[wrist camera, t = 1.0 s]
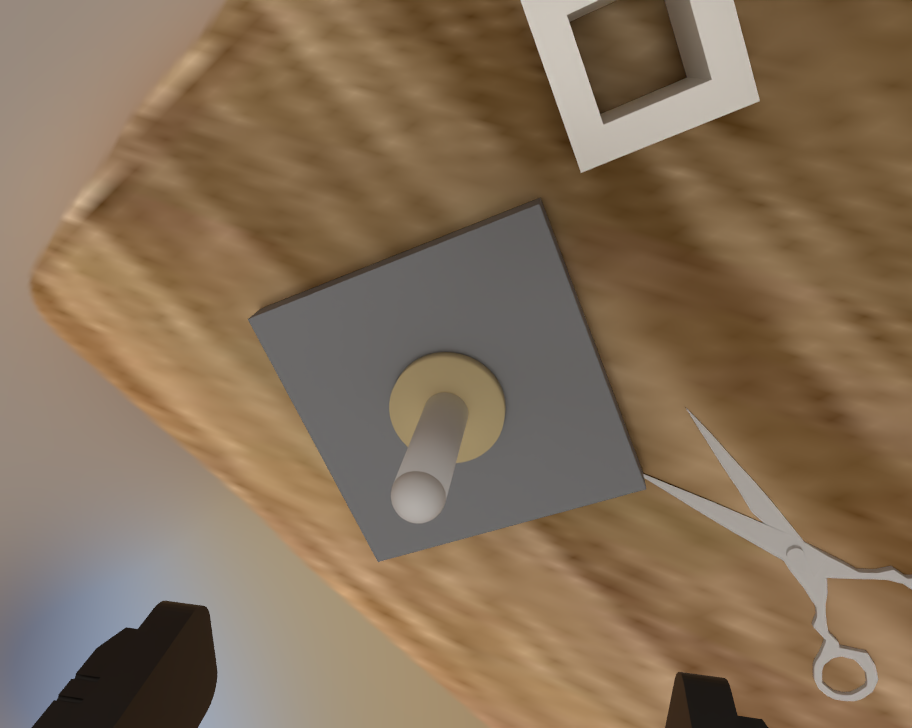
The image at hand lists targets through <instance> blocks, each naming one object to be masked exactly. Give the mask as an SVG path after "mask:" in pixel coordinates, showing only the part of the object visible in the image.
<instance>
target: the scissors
mask: <svg viewBox="0 0 912 728" xmlns="http://www.w3.org/2000/svg"><path fill="white" fill-rule="evenodd" d="M685 408H686V407H685ZM686 409H687V408H686ZM687 411H688V412H689V414H690V415H691V417H692V419H693V420H694V422H695V423H696V425H697V427H698V428H699V430H700V431H701V433H702V435H703V436H704V438H705V439H706V441H707V442H708V444H709V446H710V447H711V449H712V450H713V452H714V454H715V455H716V457H717V458H718V460H719V462H720V463H721V465H722V466H723V468H724V469H725V471H726V472H727V474H728V475H729V477H730V478H731V480H732V481H733V483H734V484H735V485H736V487H737V488H738V490H739V492H740V493H741V495H742V497H743V498H744V500H745V502H746V503H747V505H748V507H749V508H750V510H751V512H752V513H753V514H754V515H755V516H756V517H758V518H759V519H760V520H761V521H762V522H763V523H761V522H758V521H756V520H754V519H751V518H749V517H747V516H744V515H742V514H740V513H737V512H735V511H732V510H730V509H728V508H725V507H723V506H721V505H718V504H716V503H714V502H711V501H709V500H706V499H704V498H701V497H699V496H696V495H694V494H692V493H689V492H687V491H684V490H682V489H679V488H677V487H674V486H672V485H669V484H667V483H664V482H662V481H660V480H657V479H655V478H652V477H650V476H647V475H645V474H643V475H644V478H645V479H647V480H649V481H650V482H652V483H653V484H655V485H657V486H658V487H660V488H662V489H663V490H665V491H666V492H668V493H670V494H671V495H673V496H675V497H676V498H678V499H679V500H681V501H683V502H684V503H686V504H688V505H689V506H691V507H692V508H694V509H696V510H697V511H699V512H701V513H702V514H704V515H706V516H707V517H709V518H710V519H712V520H714V521H715V522H717V523H719V524H720V525H722V526H724V527H725V528H727V529H729V530H731V531H732V532H734V533H736V534H738V535H739V536H741V537H743V538H745V539H746V540H748V541H750V542H752V543H753V544H755V545H757V546H759V547H760V548H762V549H764V550H766V551H767V552H769V553H771V554H773V555H774V556H776V557H778V558H780V559H782V560H783V561H784V562H785V563H786V565H787V567H788V568H789V570H790V571H791V572H792V574H793V575H794V576H795V577H796V579H797V580H798V581H799V582H800V584H801V585H802V586H803V587H804V589H805V590H806V592H807V594H808V595H809V597H810V599H811V600H812V602H813V603H814V604H815V611H816V613H815V616H814V618H813V621H812V625H813V627H814V628H815V629H816V630H817V631H818V632H819V633H820V634H821V636H822V637H823V638H824V640H823V643H822V645H821V648H820V650H819V652H818V654H817V655H816V657H815V658H814V661H813V678H814V680H815V682H816V684H817V686H818V688H819V689H820V690H821V691H822V692H823V693H825V694H826V695H827V696H829V697H831V698H833V699H836V700H843V701H857V700H860V699H863V698H865V697H866V696H867V695H869V694H870V693H871V692H872V691H873V690H874V688H875V686H876V683H877V681H878V675H877V671H876V667H875V664H874V662H873V661H872V659H871V658H870V656H869V654H868V653H867V651H866V650H862V649H857V648H853V647H848V646H843V645H839V643H838V641H837V639H836V638H835V637H834V636H833V635H832V634H831V633H830V632H829V631H828V628H827V623H826V608H825V604H826V598H827V579H826V578H845V579H880V580H890V581H894V582H898V583H902V584H904V585H906V586H907V587H909V588H910V589H912V575H904V574H902V573H901V572H899V571H898V570H896V569H895V568H893V567H892V566H887V567H883V568H878V569H858V568H855V567H853V566H851V565H849V564H848V563H846V562H844V561H842V560H840V559H838V558H836V557H834V556H832V555H830V554H828V553H826V552H824V551H822V550H820V549H818V548H816V547H814V546H812V545H810V544H808V543H807V542H805V541H803V540H802V538H801V537H800V536H799V535H798V533H797V532H796V531H795V530H794V528H793V527H792V526H791V525H790V523H789V522H788V521H787V520H786V518H785V517H784V516H783V515H782V514H781V512H780V511H779V510H778V509H777V507H776V506H775V505H774V504H773V502H772V501H771V500H770V499H769V497H768V496H767V495H766V494H765V493H764V492H763V491H762V489H761V488H760V487H759V486H758V485H757V484H756V483H755V481H754V480H753V479H752V478H751V477H750V476H749V475H748V474H747V473H746V472H745V471H744V469H743V468H742V467H741V466H740V465H739V464H738V463H737V462H736V461H735V460H734V459H733V458H732V456H731V455H730V454H729V453H728V452H727V451H726V450H725V448H724V447H723V446H722V445H721V444H720V443H719V442H718V441H717V439H716V438H715V437H714V436H713V435H712V434H711V433H710V431H709V430H708V429H707V428H706V427H705V426H704V425H703V424H702V423H701V422H700V421H699V420H698V419H697V418H696V417H695V416H694V415H693V414H692V413H691V412H690V411H689V410H688V409H687ZM764 523H765V524H764ZM841 656H842V657H846V658H850V659H854V660H855V661H856V662H857V663H858V664H859V665H860V666H861V667H862V668H863V669H864V671H865V676H866V681H865V684H863V685H862V686H860V687H859V688H857V689H855V690H853V691H850V692H840V691H836V690H833V689H831V688H830V687H829V686H827V685H826V684H825V683H824V682H823V681H822V669H823V666H824V665H825V664H826V663H827V662H829V661H830V660H831V659H832V658H835V657H841Z"/></svg>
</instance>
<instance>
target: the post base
mask: <svg viewBox="0 0 912 728" xmlns="http://www.w3.org/2000/svg"><path fill="white" fill-rule="evenodd" d="M248 320H249V322H250V324H251V326H252V328H253V330H254V332H255V333H256V335H257V337H258V339H259V341H260V343H261V345H262V347H263V348H264V350H265V352H266V354H267V356H268V358H269V360H270V361H271V363H272V365H273V367H274V369H275V371H276V373H277V374H278V376H279V378H280V380H281V382H282V384H283V386H284V388H285V389H286V391H287V393H288V395H289V397H290V399H291V401H292V402H293V404H294V406H295V408H296V410H297V412H298V414H299V415H300V417H301V419H302V421H303V423H304V425H305V427H306V429H307V430H308V432H309V434H310V436H311V438H312V440H313V442H314V443H315V445H316V447H317V449H318V451H319V453H320V455H321V457H322V458H323V460H324V462H325V464H326V466H327V468H328V470H329V471H330V473H331V475H332V477H333V479H334V481H335V483H336V484H337V486H338V488H339V490H340V492H341V494H342V496H343V498H344V499H345V501H346V503H347V505H348V507H349V509H350V511H351V512H352V514H353V516H354V518H355V520H356V522H357V524H358V525H359V527H360V529H361V531H362V533H363V535H364V537H365V539H366V540H367V542H368V544H369V546H370V548H371V550H372V552H373V553H374V555H375V557H376V559H377V561H378V562H379V561H383V560H387V559H390V558H394V557H398V556H402V555H405V554H409V553H413V552H416V551H420V550H424V549H427V548H431V547H435V546H438V545H442V544H446V543H450V542H453V541H457V540H461V539H464V538H468V537H472V536H475V535H479V534H483V533H486V532H490V531H494V530H497V529H501V528H505V527H509V526H512V525H516V524H520V523H523V522H527V521H531V520H534V519H538V518H542V517H545V516H549V515H553V514H556V513H560V512H564V511H568V510H571V509H575V508H579V507H582V506H586V505H590V504H593V503H597V502H601V501H604V500H608V499H612V498H615V497H619V496H623V495H627V494H630V493H634V492H638V491H641V490H645V489H646V485H645V480H644V475H643V471H642V468H641V466H640V463H639V460H638V458H637V455H636V452H635V450H634V447H633V444H632V442H631V439H630V436H629V434H628V431H627V428H626V426H625V423H624V420H623V418H622V415H621V412H620V410H619V407H618V404H617V402H616V399H615V396H614V394H613V391H612V388H611V385H610V383H609V380H608V377H607V375H606V372H605V369H604V367H603V364H602V361H601V359H600V356H599V353H598V351H597V348H596V345H595V343H594V340H593V337H592V335H591V332H590V329H589V327H588V324H587V321H586V319H585V316H584V313H583V311H582V308H581V305H580V302H579V300H578V297H577V294H576V292H575V289H574V286H573V284H572V281H571V278H570V276H569V273H568V270H567V268H566V265H565V262H564V260H563V257H562V254H561V252H560V249H559V246H558V244H557V241H556V238H555V236H554V233H553V230H552V228H551V225H550V222H549V219H548V217H547V214H546V211H545V209H544V206H543V203H542V201H541V198H538V199H536V200H533V201H531V202H528V203H526V204H523V205H521V206H518V207H516V208H513V209H511V210H508V211H506V212H503V213H500V214H498V215H495V216H493V217H490V218H488V219H485V220H483V221H480V222H478V223H475V224H473V225H470V226H468V227H465V228H463V229H460V230H458V231H455V232H453V233H450V234H448V235H445V236H443V237H440V238H438V239H435V240H433V241H430V242H428V243H425V244H423V245H420V246H418V247H415V248H413V249H410V250H407V251H405V252H402V253H400V254H397V255H395V256H392V257H390V258H387V259H385V260H382V261H380V262H377V263H375V264H372V265H370V266H367V267H365V268H362V269H360V270H357V271H355V272H352V273H350V274H347V275H345V276H342V277H340V278H337V279H335V280H332V281H330V282H327V283H325V284H322V285H320V286H317V287H314V288H312V289H309V290H307V291H304V292H302V293H299V294H297V295H294V296H292V297H289V298H287V299H284V300H282V301H279V302H277V303H274V304H272V305H269V306H267V307H264V308H262V309H260V310H259V311H257V312H256V313H255V314H254V315H252V316H251V317H250V318H249V319H248Z"/></svg>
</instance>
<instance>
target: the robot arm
mask: <svg viewBox="0 0 912 728" xmlns="http://www.w3.org/2000/svg"><path fill="white" fill-rule="evenodd" d="M216 682H217V666H216V658H215V650H214V643H213V636H212V628H211V621H210V614H209V611H208V609H207V607H205V606H200V605H193V604H185V603H178V602H170V601H162V602H160V603H159V604H158V605H156V607H155V608H154V609H153V610H152V612H151V613H150V614H149V615H148V617H147V618H146V619H145V621H144V622H143V623H142V624H141V626H140V627H139V628H138V629H133V628H125V629H123V630H122V631H120V632H119V633H118V634H116V635H115V636H113V637H112V638H110V639H109V640H108V641H106V642H105V643H103V644H102V645H101V646H99V647H98V648H97V649H96V650H95V651H94V652H93V653H92V655H91V656H90V657H89V658H88V660H87V661H86V662H85V663H84V665H83V666H82V667H81V668H80V669H79V671H78V672H77V673H76V677H75V679H71V680H70V681H69V683H68V684H67V685H66V686H65V688H64V689H63V690H62V691H61V692H60V694H59V696H58V699H57V701H55V700H54V701H53V702H52V703H51V705H50V706H49V707H48V708H47V710H46V711H45V712H44V713H43V714H42V716H41V717H40V718H39V719H38V721H37V722H36V723H35V724H34V726H33V727H32V728H198V726H199V724H200V723H201V721H202V719H203V717H204V716H205V714H206V712H207V710H208V708H209V706H210V704H211V701H212V699H213V696H214V692H215V688H216ZM665 728H768V727H767V725H766V724H765V723H764V721H763V720H762V719H756V718H749V717H742V716H737V712H736V708H735V704H734V700H733V696H732V692H731V689H730V685H729V683H728V681H727V679H725V678H720V677H713V676H705V675H698V674H690V673H683V672H678V673H677V674H676V677H675V681H674V686H673V691H672V696H671V701H670V706H669V711H668V716H667V721H666V726H665Z"/></svg>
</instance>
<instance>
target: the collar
mask: <svg viewBox="0 0 912 728" xmlns="http://www.w3.org/2000/svg"><path fill="white" fill-rule="evenodd" d="M614 1H616V0H521V3H522V6H523V9H524V12H525V15H526V17H527V20H528V23H529V26H530V29H531V32H532V34H533V37H534V40H535V43H536V46H537V49H538V52H539V54H540V57H541V60H542V63H543V66H544V69H545V71H546V74H547V77H548V80H549V83H550V86H551V89H552V91H553V94H554V97H555V100H556V103H557V106H558V109H559V111H560V114H561V117H562V120H563V123H564V126H565V128H566V131H567V134H568V137H569V140H570V143H571V146H572V148H573V151H574V154H575V157H576V160H577V163H578V166H579V168H580V171H581V173H582V172H584V171H587V170H589V169H592V168H594V167H597V166H599V165H602V164H604V163H607V162H609V161H612V160H614V159H617V158H619V157H622V156H624V155H627V154H629V153H632V152H634V151H636V150H639V149H641V148H644V147H646V146H649V145H651V144H654V143H656V142H659V141H661V140H664V139H666V138H669V137H671V136H674V135H676V134H679V133H681V132H684V131H686V130H689V129H691V128H694V127H696V126H699V125H701V124H704V123H706V122H709V121H711V120H714V119H716V118H719V117H721V116H724V115H726V114H729V113H731V112H734V111H736V110H739V109H741V108H744V107H746V106H749V105H751V104H754V103H756V102H759V101H760V100H759V96H758V92H757V88H756V84H755V80H754V77H753V73H752V69H751V65H750V61H749V58H748V54H747V50H746V46H745V42H744V38H743V35H742V31H741V27H740V23H739V19H738V16H737V12H736V8H735V4H734V0H664V1H665V4H666V8H667V11H668V15H669V18H670V22H671V25H672V28H673V32H674V35H675V39H676V42H677V46H678V49H679V52H680V56H681V59H682V63H683V66H684V70H685V73H686V77H687V78H685V79H682V80H680V81H678V82H675V83H673V84H670V85H668V86H666V87H663V88H661V89H659V90H656V91H654V92H651V93H649V94H647V95H644V96H642V97H640V98H637V99H635V100H632V101H630V102H628V103H625V104H623V105H621V106H618V107H616V108H613V109H611V110H609V111H606V112H604V113H602V114H600V113H599V110H598V107H597V104H596V101H595V98H594V95H593V92H592V89H591V86H590V83H589V80H588V77H587V74H586V71H585V68H584V65H583V62H582V59H581V56H580V53H579V50H578V47H577V44H576V41H575V38H574V35H573V32H572V29H571V26H570V23H569V22H571V21H573V20H575V19H577V18H580V17H582V16H584V15H586V14H588V13H590V12H593V11H595V10H597V9H599V8H601V7H603V6H606V5H608V4H610V3H612V2H614Z"/></svg>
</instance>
